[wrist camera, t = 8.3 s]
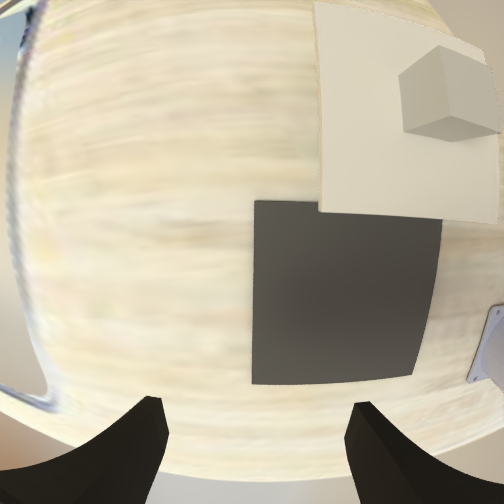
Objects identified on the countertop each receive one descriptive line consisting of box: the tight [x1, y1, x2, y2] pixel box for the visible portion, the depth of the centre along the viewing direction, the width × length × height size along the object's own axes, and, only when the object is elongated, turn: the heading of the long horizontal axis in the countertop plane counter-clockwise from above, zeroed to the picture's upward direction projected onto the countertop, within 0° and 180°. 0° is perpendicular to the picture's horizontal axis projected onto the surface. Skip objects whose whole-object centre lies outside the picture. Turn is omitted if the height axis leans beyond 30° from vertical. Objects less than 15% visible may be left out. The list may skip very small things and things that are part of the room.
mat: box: [252, 201, 442, 385], centre depth 19 cm, size 13×13×1 cm
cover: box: [312, 1, 502, 225], centre depth 9 cm, size 11×11×5 cm
